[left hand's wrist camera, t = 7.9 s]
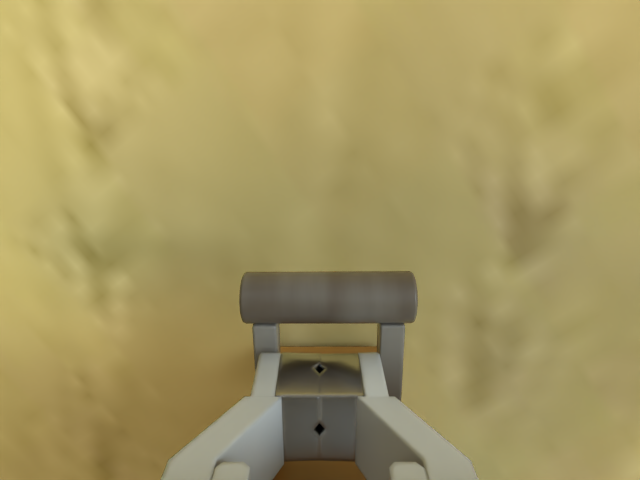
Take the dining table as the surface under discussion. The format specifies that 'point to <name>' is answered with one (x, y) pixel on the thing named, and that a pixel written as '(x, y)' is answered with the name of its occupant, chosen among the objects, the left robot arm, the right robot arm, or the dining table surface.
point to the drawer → (331, 307)
